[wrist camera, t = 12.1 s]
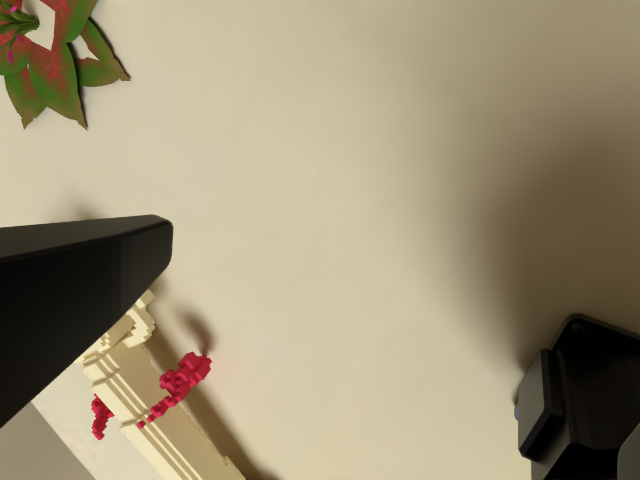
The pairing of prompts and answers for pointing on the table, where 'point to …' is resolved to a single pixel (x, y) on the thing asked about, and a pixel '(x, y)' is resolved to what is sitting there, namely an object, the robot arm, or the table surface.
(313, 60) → the table surface
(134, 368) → the cat figure
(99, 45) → the lily flower
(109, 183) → the table surface
